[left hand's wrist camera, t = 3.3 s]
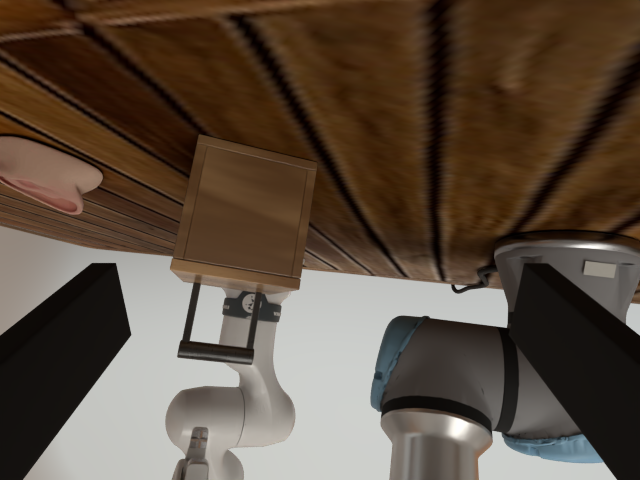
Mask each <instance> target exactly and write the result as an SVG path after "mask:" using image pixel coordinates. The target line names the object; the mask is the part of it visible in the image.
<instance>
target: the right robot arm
mask: <svg viewBox="0 0 640 480" xmlns="http://www.w3.org/2000/svg"><path fill="white" fill-rule="evenodd" d="M304 261H305V259H303V264H304ZM222 289H223V290H224V291H225V293H226V296H227V298H225V300H224V305H223V313H222V314H223V315H224V318H223V324H222V329H221V335H220V340H219V344H220V345H228V346H237V347H245V348H246V345H247V339H248V333H249V327H250V321H251V315H252V309H253V303H254V297H255V292H248V291H241V290H235V289H228V288H222ZM290 293H291V291H289V292H283V293H277V294H272V295H268V294H262V298H261V304H260V310H259V316H258V322H257V328H256V334H255V340H254V346H253V349H254V359H253V363H252V365H243V364H234V363H226V364H227V365H228V366H229V367H231V368H232V369H234V370H235V371H237V372H239V376H240V383H239V387H214V386H203V387H197V388H191V389H186V390H182V391H180V392H179V393H178V394H177V395H176V396H175V397H174V399H173V400H172V402H171V403H170V405H169V407H168V410H167V414H166V430H167V434H168V436H169V438H170V440H171V441H172V442H173V443H174V445H176V446H177V447H179V448H180V449H181V450H182V451H183V452H184V454H185V455H186V458H185V459H181V460H179V462H178V464H177V466H176V468H175V471H174V474H173V478H172V480H243V479H244V471H243V467H242V464H241V462H240V461H239V459H238V458H237V457H236V456H235V455H234V454H233V453H232V452H231V451H229V450H228V449H230V448H235V447H264V446H268V445H272V444H275V443H279V442H282V441H284V440H286V439H287V438H288V436H289V435H290V433H291V431H292V429H293V427H294V423H295V409H294V405H293V402H292V400H291V399H290V397H289V396H288V395H287V394H286V393H285V392H284V391H283V389H282V388H281V386H280V385H279V383H278V381H277V378H276V375H275V371H274V366H273V349H274V339H275V331H276V324H277V322H279V318H280V315H281V305H280V304H281V303H282V301H283V300H284V299H286V298H287V297H288V296H290ZM226 315H227V316H226Z"/></svg>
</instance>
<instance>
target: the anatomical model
mask: <svg viewBox="0 0 640 480" xmlns="http://www.w3.org/2000/svg"><path fill="white" fill-rule="evenodd" d="M102 179H103V175H102V173H101V172H100V171H99V170H98V169H97V168H95V167H94V166H92V165H90V164H88V163H86V162H84V161H82V160H80V159H78V158H75V157H73V156H71V155H68V154H66V153H63V152H61V151H59V150H56V149H54V148H51V147H48V146H46V145H43V144H40V143H37V142H34V141H31V140H28V139H24V138H19V137H12V136H0V182H1V183H3V184H5V185H7V186H8V187H10V188H12V189H14V190H16V191H18V192H20V193H22V194H24V195H27V196H29V197H31V198H33V199H35V200H37V201H39V202H41V203H44V204H46V205H48V206H50V207H52V208H55V209H57V210H60V211H62V212H65V213H68V214H74V215H76V214H80V213H81V212H82V210H83V207H84V203H83V199H82V196H81V195H82V194H83V193H86V192H88V191H91V190H93V189H94V188H96V187H97V186H98V185H99V184H100V183H101V181H102Z"/></svg>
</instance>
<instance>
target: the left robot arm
mask: <svg viewBox="0 0 640 480" xmlns="http://www.w3.org/2000/svg"><path fill="white" fill-rule="evenodd" d="M494 259H495V263H496V266H497V267H490V268H485V269H482V270H480V271H479V272H478V276H479V277H480V278H481V280H482V281H483V284H479V285H471V286H467V287H464V288H462V289H460V290H457V289H456V288H455V285H453V284H451V287H452V290H453V291H454V292H455V293H458V294H459V293H463V292H465V291H467V290H470V289H478V288H484V287H487V286H488V285H489V282H488V280H487V279H486V277H485V276H484V275H483V274H486V273H491V272H498V273H499V276H500V279H501V282H502V286H503V289H504V292H505V296H506V299H507V302H508V325H507V328H503V327H496V326H487V325H479V324H471V323H463V322H455V321H448V320H439V319H432V318H430V317H429V316H423V317H413V316H398V317H396V318H394V319H392V321H391V322H390V323H389V324H388V326H387V328H386V331H385V334H384V336H383V340H382V343H381V346H380V350H379V354H378V358H377V363H376V367H375V374H374V379H373V383H372V389H371V406H372V407H373V408H375V409H376V410H377V411H378V412H382V414H381V427H382V429H383V430H384V432H385V433H386V435H387V436H388V437H389V439H390V440H391V442H392V444H393V446H392V457H391V468H390V479H389V480H479V476H478V458H479V456H480V455H482V454H483V453H484V452H485V451H486V450H487V449H488V448H489V447H490V446H491V445H492V442H493V440H492V431H497V432H502V437H503V438H504V441H505V443H506V445H507V446H509V447H510V448H512V449H513V450H515V451H518V452H521V453H523V454H526V455H532V456H540V457H541V458H543V459H548V460H554V461H562V462H572V463H601V462H604V463H605V464H606V465H607V467H608V468H609V469H610V471H611V472H612V473H613V475H614V476H615V477H616V479H617V480H640V335H638V334H637V333H636V332H635V331H633V330H632V329H631V328H629V327H628V326H627V325H626V314H627V310H628V308H629V305H630V303H631V300H632V298H633V295H634V292H635V290H636V287H637V285H638V282H639V280H640V242H639V241H637V240H634V239H631V238H627V237H623V236H618V235H612V234H603V233H593V232H538V233H528V234H521V235H515V236H511V237H507V238H504V239H501V240H499V241H498V242H496V244H495V253H494ZM130 336H131V331H130V327H129V322H128V317H127V312H126V308H125V303H124V299H123V294H122V289H121V285H120V280H119V275H118V271H117V266H116V263H92V264H90V265H89V266H88V267H87V268H85V269H84V270H83V271H81V272H80V273H79V274H78V275H76V276H75V277H74V278H73V279H71V280H70V281H69V282H68V283H66V284H65V285H64V286H62V287H61V288H60V289H59V290H57V291H56V292H55V293H54V294H52V295H51V296H50V297H49V298H47V299H46V300H45V301H43V302H42V303H41V304H40V305H38V306H37V307H36V308H35V309H33V310H32V311H31V312H30V313H28V314H27V315H26V316H25V317H23V318H22V319H21V320H19V321H18V322H17V323H16V324H14V325H13V326H12V327H11V328H9V329H8V330H7V331H6V332H4V333H3V334H2V335H0V480H23V479H24V477H25V476H26V475H27V473H28V472H29V471H30V469H31V468H32V467H33V465H34V464H35V463H36V461H37V460H38V459H39V457H40V456H41V455H42V453H43V452H44V451H45V449H46V448H47V447H48V445H49V444H50V443H51V441H52V440H53V439H54V437H55V436H56V435H57V433H58V432H59V431H60V429H61V428H62V427H63V425H64V424H65V423H66V421H67V420H68V419H69V417H70V416H71V415H72V413H73V412H74V411H75V409H76V408H77V407H78V405H79V404H80V403H81V401H82V400H83V399H84V397H85V396H86V395H87V393H88V392H89V391H90V389H91V388H92V387H93V385H94V384H95V383H96V381H97V380H98V379H99V377H100V376H101V375H102V373H103V372H104V371H105V369H106V368H107V367H108V365H109V364H110V363H111V361H112V360H113V359H114V357H115V356H116V355H117V353H118V352H119V351H120V349H121V348H122V347H123V345H124V344H125V343H126V341H127V340H128V339H129V337H130Z"/></svg>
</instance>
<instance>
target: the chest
mask: <svg viewBox="0 0 640 480" xmlns="http://www.w3.org/2000/svg"><path fill="white" fill-rule="evenodd" d="M317 164H318V163H317V162H313V161H309V160H305V159H301V158H296V157H292V156H288V155H284V154H280V153H276V152H271V151H267V150H263V149H259V148H255V147H251V146H246V145H242V144H238V143H234V142H230V141H226V140H222V139H217V138H213V137H209V136H205V135H201V134H199V136H198V141H197V146H196V150H195V155H194V160H193V164H192V169H191V174H190V178H189V183H188V187H187V192H186V197H185V201H184V206H183V211H182V215H181V220H180V225H179V229H178V234H177V239H176V243H175V248H174V253H173V258H174V259H181V260H187V261H193V262H199V263H205V264H211V265H217V266H223V267H229V268H236V269H242V270H248V271H254V272H260V273H266V274H272V275H278V276H284V277H291V278H297V279H299V278H301V273H302V266H303V259H304V252H305V245H306V238H307V232H308V225H309V218H310V211H311V204H312V197H313V191H314V184H315V177H316V171H317Z"/></svg>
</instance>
